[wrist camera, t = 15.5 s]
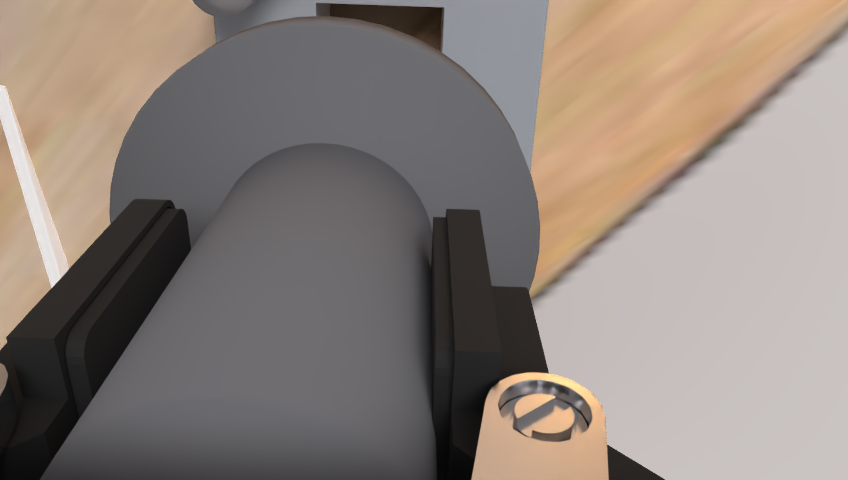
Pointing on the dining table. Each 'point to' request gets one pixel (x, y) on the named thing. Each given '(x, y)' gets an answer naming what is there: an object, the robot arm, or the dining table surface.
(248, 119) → the plug
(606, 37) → the dining table surface
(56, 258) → the fork
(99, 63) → the dining table surface
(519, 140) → the socket block
